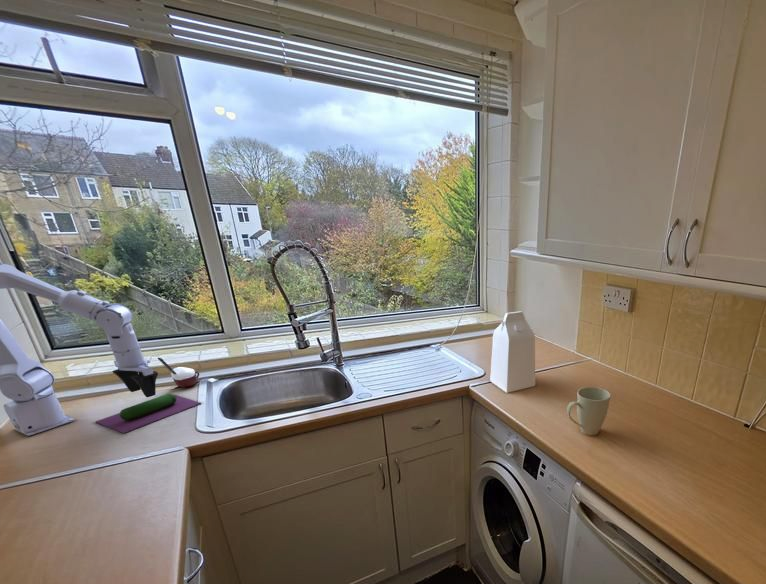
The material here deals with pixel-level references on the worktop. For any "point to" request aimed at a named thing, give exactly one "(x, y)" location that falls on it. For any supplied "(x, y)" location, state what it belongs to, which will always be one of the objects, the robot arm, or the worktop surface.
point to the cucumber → (147, 407)
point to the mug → (590, 409)
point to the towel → (147, 416)
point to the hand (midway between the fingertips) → (143, 393)
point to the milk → (513, 354)
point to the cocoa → (182, 375)
